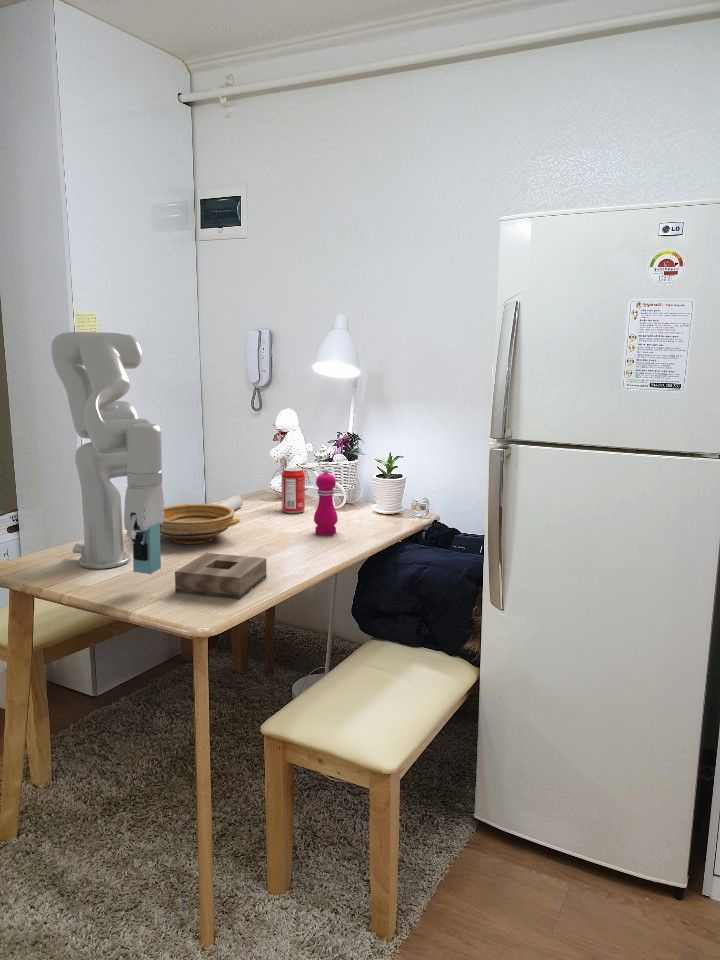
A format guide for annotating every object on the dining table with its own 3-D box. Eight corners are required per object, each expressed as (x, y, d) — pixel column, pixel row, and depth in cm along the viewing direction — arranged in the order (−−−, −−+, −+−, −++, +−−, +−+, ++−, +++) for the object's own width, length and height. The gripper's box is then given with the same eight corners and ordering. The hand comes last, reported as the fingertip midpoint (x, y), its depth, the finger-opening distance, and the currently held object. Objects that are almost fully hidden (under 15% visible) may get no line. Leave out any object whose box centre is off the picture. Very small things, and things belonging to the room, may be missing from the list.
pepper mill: (323, 537, 217) (324, 471, 214) (309, 532, 222) (309, 468, 219) (342, 533, 222) (342, 468, 218) (327, 528, 227) (327, 465, 224)
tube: (228, 495, 257) (201, 510, 233) (242, 491, 256) (216, 505, 232) (233, 509, 258) (206, 525, 233) (247, 505, 256) (221, 521, 232)
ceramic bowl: (257, 533, 220) (257, 507, 219) (217, 554, 198) (217, 526, 196) (172, 525, 229) (171, 500, 228) (125, 544, 207) (124, 516, 205)
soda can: (285, 515, 245) (285, 471, 242) (279, 510, 252) (278, 467, 249) (307, 513, 248) (307, 470, 245) (300, 508, 255) (300, 466, 252)
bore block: (175, 592, 167) (174, 571, 166) (206, 572, 182) (206, 552, 182) (240, 599, 163) (239, 577, 162) (266, 577, 179) (266, 558, 178)
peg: (133, 571, 166) (132, 525, 164) (143, 565, 170) (142, 520, 168) (150, 574, 165) (149, 527, 163) (160, 568, 169) (159, 522, 167)
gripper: (149, 470, 172) (151, 544, 176) (108, 484, 156) (111, 566, 160) (178, 473, 170) (179, 548, 174) (139, 488, 154) (141, 570, 158)
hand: (146, 555), depth 167 cm, fingers closed on peg, 4 cm apart
